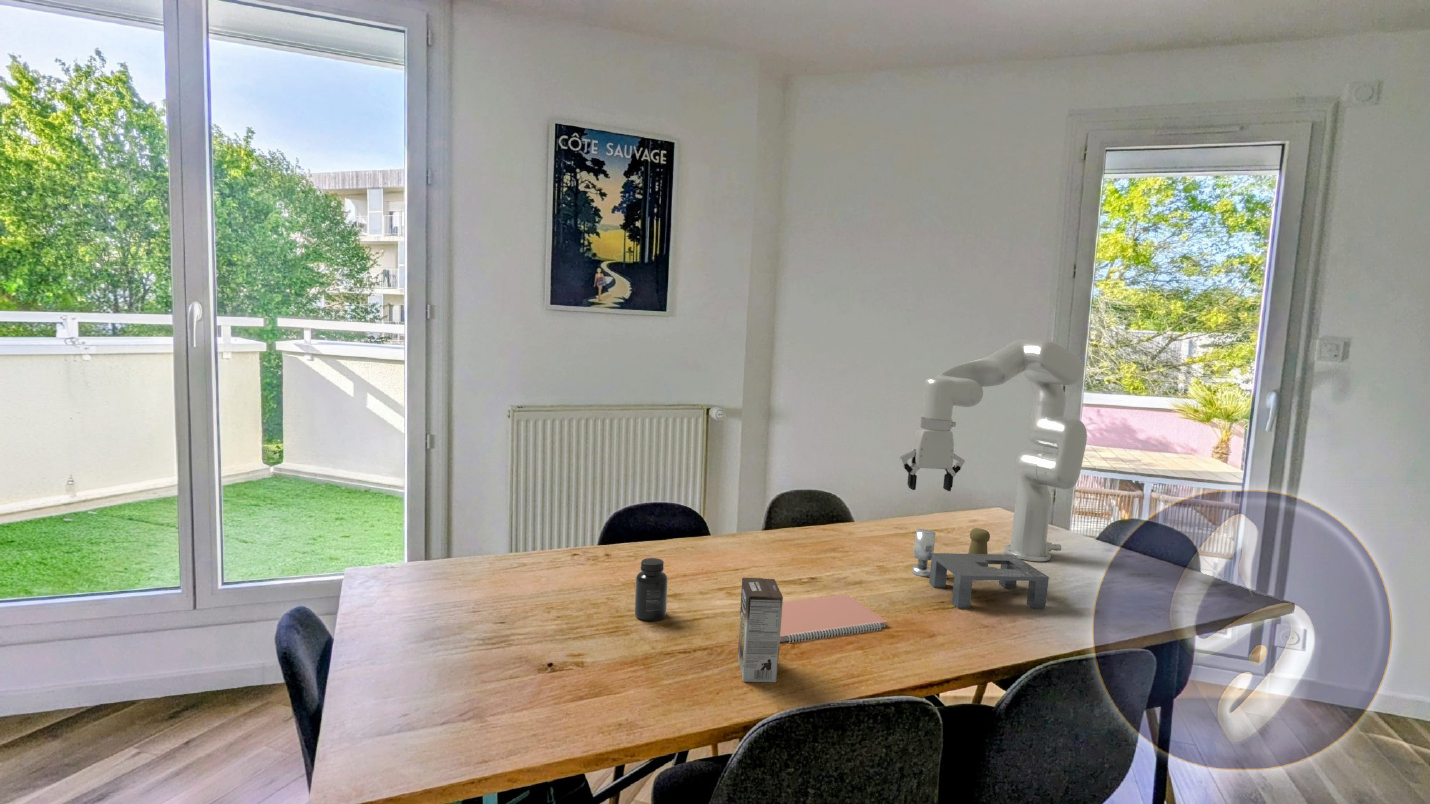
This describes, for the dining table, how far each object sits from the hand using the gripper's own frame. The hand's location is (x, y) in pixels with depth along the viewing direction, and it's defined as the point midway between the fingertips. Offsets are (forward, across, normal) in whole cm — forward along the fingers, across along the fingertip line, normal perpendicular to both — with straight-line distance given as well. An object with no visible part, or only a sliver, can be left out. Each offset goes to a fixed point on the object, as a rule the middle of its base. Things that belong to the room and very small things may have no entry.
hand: (929, 489), depth 185 cm
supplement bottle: (+24, +73, +28) cm, 81 cm away
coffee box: (+24, +54, +52) cm, 78 cm away
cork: (+23, -18, -5) cm, 30 cm away
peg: (+23, 0, 0) cm, 23 cm away
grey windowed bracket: (+23, -10, +15) cm, 29 cm away
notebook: (+24, +37, +30) cm, 53 cm away
